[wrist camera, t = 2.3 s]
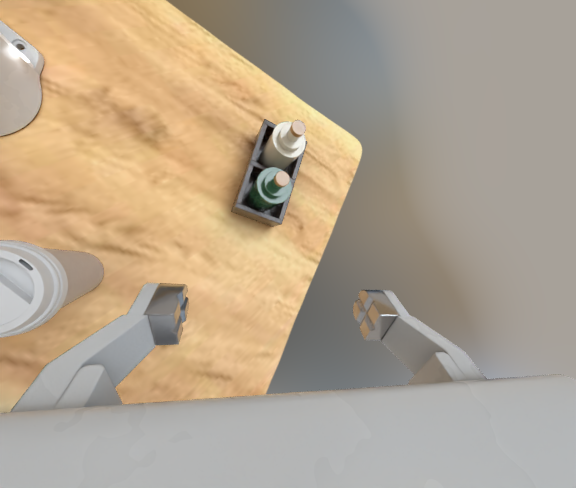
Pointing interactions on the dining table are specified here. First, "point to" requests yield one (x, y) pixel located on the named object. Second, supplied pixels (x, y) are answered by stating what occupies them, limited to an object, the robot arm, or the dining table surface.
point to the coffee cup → (41, 283)
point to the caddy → (252, 172)
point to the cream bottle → (283, 145)
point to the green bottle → (269, 189)
